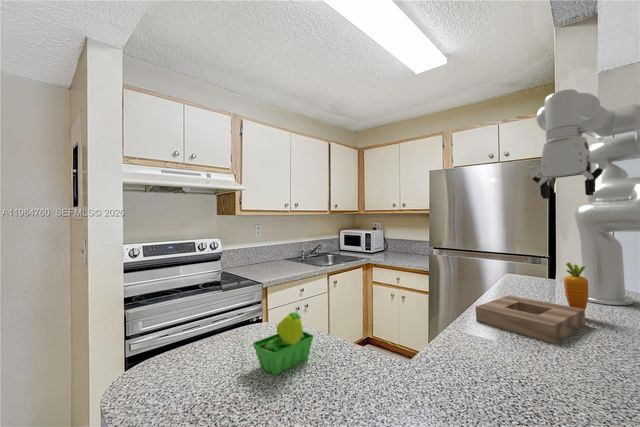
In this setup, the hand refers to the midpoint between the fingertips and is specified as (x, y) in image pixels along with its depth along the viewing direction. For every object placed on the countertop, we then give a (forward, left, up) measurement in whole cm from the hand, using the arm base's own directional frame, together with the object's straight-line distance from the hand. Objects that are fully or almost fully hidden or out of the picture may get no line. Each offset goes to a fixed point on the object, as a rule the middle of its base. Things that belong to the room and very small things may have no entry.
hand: (566, 196), depth 80 cm
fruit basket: (+76, -24, -34) cm, 87 cm away
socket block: (+14, -5, -33) cm, 37 cm away
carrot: (0, +1, -34) cm, 34 cm away
